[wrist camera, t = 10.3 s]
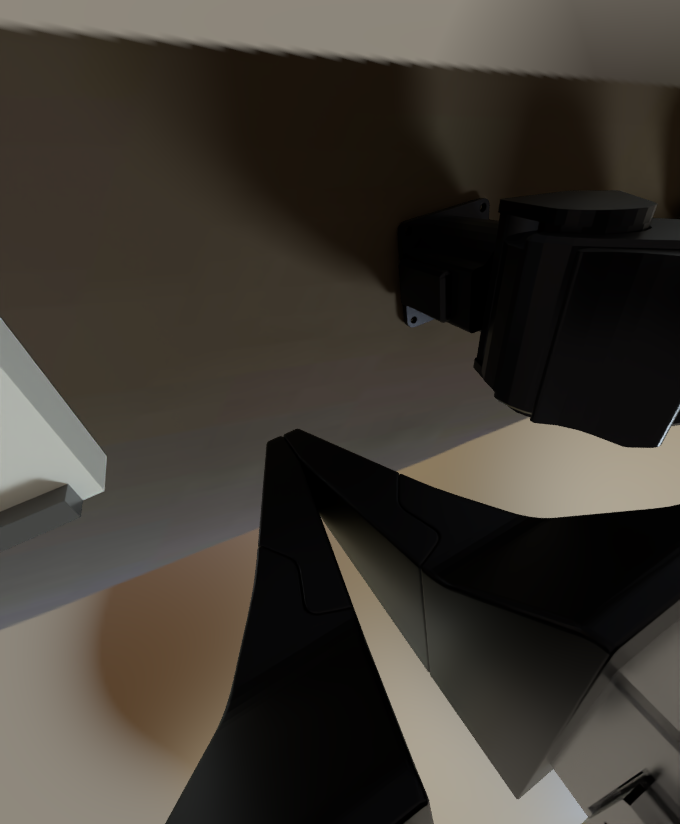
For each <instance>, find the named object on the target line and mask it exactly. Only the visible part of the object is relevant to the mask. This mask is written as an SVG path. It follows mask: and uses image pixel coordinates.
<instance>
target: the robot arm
mask: <svg viewBox="0 0 680 824" xmlns="http://www.w3.org/2000/svg"><path fill="white" fill-rule="evenodd" d="M481 205H482V208H481V210H480V206H481ZM489 206H490V205H489V201H488V199H486V198H478V199H475V200H472V201H468V202H465V203H462V204H459V205H456V206H452V207H449V208H446V209H443V210H439V211H436V212H433V213H430V214H426V215H423V216H420V217H417V218H413V219H410V220H407V221H404V222H402V223H401V224H400V225H399V227H398V246H399V259H400V263H399V276H400V289H401V302H402V304H403V311H404V322H405V324H406V325H408V326H409V327H415V326H418V325H420V324H423V323H425V322H428V321H431V320H433V319H436V320H438V321H440V322H442V323H444V322H448V323H450V324H452V325H454V326H457V327H459V328H461V329H463V330H465V331H468V332H470V333H475V332H477V331H480V332H481V335H480V341H479V347H478V353H477V358H475V360H474V366H473V367H474V369H475V370H476V371H477V372H478V373H479V374H480V376H481V377H482V378H483V379H484V381H485V382H486V383H487V384H488V385H489V386H490V387H491V388H492V389H493V390H494V392H495V393H494V397H495V398H496V399H497V400H498V401H500V402H501V403H503V404H505V405H507V406H508V407H509V408H511V409H513V410H514V411H516V412H517V413H520V414H523V415H525V416H528V417H531V418H530V421H532V422H534V423H540V424H550V425H558V426H563V427H567V428H572V429H576V430H579V431H583V432H586V433H589V434H592V435H594V436H597V437H599V438H602V439H605V440H607V441H610V442H613V443H615V444H618V445H620V446H624V447H638V448H639V447H640V448H654V447H658V446H660V445H661V444H662V442H663V441H664V438H665V437H666V435H667V433H668V431H669V429H670V427H671V426H675V425H680V219H661V218H653V215H654V212H655V209H656V207H657V203H655V202H652V201H649V200H646V199H643V198H640V197H637V196H634V195H631V194H628V193H625V192H622V191H563V192H555V193H546V194H538V195H530V196H522V197H514V198H505V199H500V204H499V211H498V212H499V213H500V219H499V221H496V220H489ZM407 227H408V233H407V234H406V235H405V230H406V228H407ZM412 317H414V318H413V320H412V321H411V318H412ZM320 516H321V517H320ZM321 518H322V519H323V521H324V522H325V524H326V525H327V527H328V528H329V530H330V531H331V532H332V534H333V535H334V537H335V538H336V540H337V541H338V543H339V544H340V545H341V547H342V548H343V550H344V551H345V553H346V554H347V556H348V557H349V558H350V560H351V561H352V563H353V564H354V566H355V567H356V569H357V570H358V571H359V573H360V574H361V576H362V577H363V579H364V580H365V581H366V583H367V584H368V586H369V587H370V588H371V590H372V592H373V593H374V594H375V596H376V597H377V599H378V600H379V602H380V603H381V605H382V606H383V607H384V609H385V610H386V612H387V613H388V615H389V616H390V617H391V619H392V620H393V622H394V623H395V625H396V626H397V627H398V629H399V630H400V632H401V633H402V635H403V636H404V638H405V639H406V641H407V642H408V643H409V645H410V646H411V648H412V649H413V650H414V652H415V653H416V655H417V656H418V658H419V659H420V661H421V662H422V663H423V665H424V666H425V668H426V669H427V670H428V672H430V675H431V677H432V678H433V679H434V681H435V682H436V684H437V685H438V687H439V688H440V690H441V691H442V692H443V694H444V695H445V697H446V698H447V700H448V701H449V703H450V704H451V705H452V707H453V708H454V710H455V711H456V712H457V714H458V715H459V717H460V718H461V720H462V721H463V723H464V724H465V726H466V727H467V728H468V730H469V731H470V733H471V734H472V736H473V737H474V738H475V740H476V741H477V743H478V744H479V746H480V747H481V749H482V750H483V751H484V753H485V754H486V756H487V757H488V759H489V760H490V761H491V763H492V764H493V766H494V767H495V769H496V770H497V771H498V773H499V774H500V776H501V777H502V779H503V780H504V781H505V783H506V784H507V786H508V787H509V789H510V790H511V791H512V793H513V794H514V796H515V797H516V799H519V798H521V796H523V795H524V794H525V793H526V792H527V791H529V790H530V789H531V788H532V787H533V786H534V785H535V784H537V783H538V782H539V781H540V780H541V779H542V778H543V777H544V776H546V775H547V774H548V773H549V772H550V771H551V770H553V769H554V770H555V772H556V773H557V774H558V776H559V777H560V778H561V780H562V781H563V783H564V784H565V786H566V787H567V788H568V790H569V791H570V792H571V794H572V795H573V797H574V798H575V799H576V801H577V802H578V803H579V805H580V806H581V808H582V809H583V810H584V812H585V813H586V815H587V816H588V818H587V819H586V820H585V821H584V822H583V823H582V824H680V504H679V505H674V506H670V507H663V508H655V509H646V510H635V511H624V512H612V513H602V514H592V515H580V516H570V517H559V518H535V517H528V516H522V515H519V514H515V513H511V512H508V511H505V510H502V509H499V508H495V507H492V506H489V505H486V504H483V503H480V502H476V501H473V500H470V499H467V498H464V497H460V496H458V495H454V494H452V493H449V492H446V491H443V490H440V489H437V488H434V487H432V486H429V485H427V484H424V483H422V482H419V481H417V480H414V479H412V478H410V477H407V476H405V475H403V474H400V475H399V473H398V472H396V471H394V470H391V469H389V468H387V467H384V466H382V465H380V464H378V463H375V462H373V461H371V460H369V459H366V458H364V457H362V456H359V455H357V454H355V453H353V452H350V451H348V450H346V449H344V448H341V447H339V446H337V445H334V444H332V443H330V442H328V441H325V440H323V439H321V438H318V437H316V436H314V435H312V434H309V433H307V432H305V431H303V430H300V429H295V430H293V431H290V432H288V433H286V434H284V437H282V436H279V437H277V438H275V439H272V440H270V441H268V442H267V446H266V458H265V470H264V481H263V493H262V505H261V517H260V529H259V541H258V547H259V548H258V550H257V562H256V570H255V579H254V586H253V592H252V597H251V602H250V607H249V612H248V617H247V622H246V626H245V630H244V635H243V640H242V645H241V649H240V653H239V657H238V662H237V666H236V671H235V675H234V680H233V684H232V688H231V692H230V695H229V699H228V702H227V706H226V709H225V711H224V714H223V717H222V719H221V721H220V723H219V726H218V728H217V730H216V732H215V734H214V736H213V738H212V739H211V741H210V744H209V745H208V747H207V749H206V750H205V752H204V754H203V756H202V758H201V759H200V761H199V763H198V765H197V767H196V769H195V770H194V772H193V774H192V776H191V778H190V779H189V781H188V783H187V785H186V787H185V789H184V790H183V792H182V794H181V796H180V798H179V799H178V801H177V803H176V805H175V807H174V809H173V811H172V812H171V814H170V816H169V818H168V820H167V822H166V823H165V824H434V823H433V819H432V813H431V808H430V803H429V799H428V796H427V794H426V791H425V789H424V787H423V784H422V782H421V779H420V777H419V774H418V772H417V769H416V767H415V764H414V762H413V759H412V757H411V754H410V752H409V749H408V747H407V744H406V742H405V739H404V737H403V734H402V731H401V729H400V726H399V724H398V721H397V718H396V716H395V713H394V711H393V708H392V706H391V703H390V701H389V698H388V696H387V693H386V691H385V688H384V686H383V683H382V680H381V678H380V675H379V673H378V670H377V668H376V665H375V662H374V660H373V657H372V655H371V652H370V650H369V647H368V645H367V642H366V639H365V637H364V634H363V631H362V629H361V626H360V623H359V621H358V618H357V615H356V612H355V610H354V607H353V605H352V602H351V599H350V596H349V593H348V591H347V588H346V585H345V582H344V580H343V577H342V574H341V571H340V569H339V566H338V563H337V561H336V558H335V555H334V552H333V550H332V547H331V544H330V541H329V539H328V536H327V533H326V531H325V528H324V525H323V522H322V519H321Z"/></svg>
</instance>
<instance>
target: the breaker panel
mask: <svg viewBox="0 0 680 824" xmlns="http://www.w3.org/2000/svg"><path fill="white" fill-rule="evenodd" d="M106 462H107V456H106V455H105V453H104V452H103V451H102V449H101V448H100V447H99V446H98V444H97V443H96V442H95V440H94V439H93V438H92V436H91V435H90V434H89V433H88V431H87V430H86V429H85V427H84V426H83V425H82V423H81V422H80V421H79V419H78V418H77V417H76V416H75V414H74V413H73V412H72V410H71V409H70V408H69V406H68V405H67V404H66V402H65V401H64V400H63V399H62V397H61V396H60V395H59V393H58V392H57V391H56V389H55V388H54V387H53V386H52V384H51V383H50V382H49V380H48V379H47V378H46V376H45V375H44V374H43V372H42V371H41V370H40V369H39V367H38V366H37V365H36V363H35V362H34V361H33V359H32V358H31V357H30V355H29V354H28V353H27V352H26V350H25V349H24V348H23V346H22V345H21V344H20V342H19V341H18V340H17V338H16V337H15V336H14V335H13V333H12V332H11V331H10V329H9V328H8V327H7V325H6V324H5V323H4V322H3V320H2V319H1V318H0V552H2V551H4V550H7V549H9V548H11V547H13V546H16V545H18V544H20V543H23V542H25V541H27V540H30V539H32V538H34V537H36V536H39V535H41V534H43V533H46V532H48V531H50V530H52V529H55V528H57V527H59V526H62V525H64V524H66V523H68V522H71V521H73V520H75V519H78V518H80V517H81V511H82V503H83V500H85V499H87V498H89V497H92V496H94V495H96V494H99V493H101V492H103V491H104V489H105V475H106Z"/></svg>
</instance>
